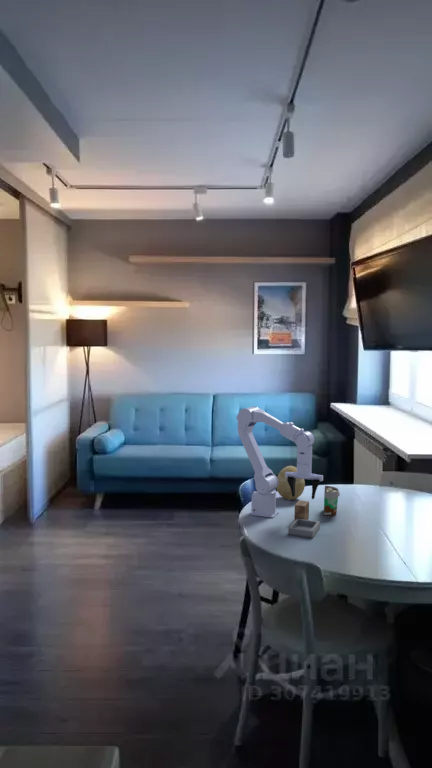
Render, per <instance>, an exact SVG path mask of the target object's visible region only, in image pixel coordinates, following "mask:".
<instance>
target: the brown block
mask: <svg viewBox="0 0 432 768" xmlns="http://www.w3.org/2000/svg"><path fill="white" fill-rule="evenodd" d="M309 515H310V501H309V500H298V501H297V502H296V503H295V505H294V521H295V520H296V519H304V520H310V516H309ZM294 521H293V522H294Z"/></svg>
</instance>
